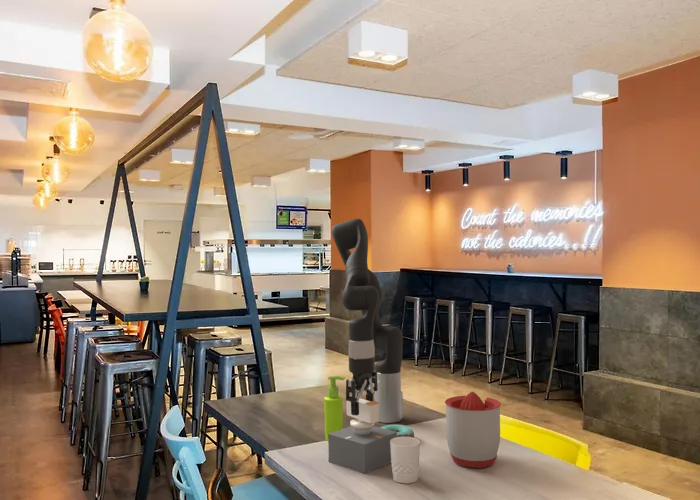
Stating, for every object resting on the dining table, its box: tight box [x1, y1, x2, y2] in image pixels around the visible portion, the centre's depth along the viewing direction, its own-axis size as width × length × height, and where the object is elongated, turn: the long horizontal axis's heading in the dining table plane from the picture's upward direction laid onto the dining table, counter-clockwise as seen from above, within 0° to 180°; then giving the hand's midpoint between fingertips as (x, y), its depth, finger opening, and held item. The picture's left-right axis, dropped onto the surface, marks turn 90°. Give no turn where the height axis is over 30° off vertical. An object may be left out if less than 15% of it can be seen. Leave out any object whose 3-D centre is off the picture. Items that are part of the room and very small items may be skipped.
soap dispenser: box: [323, 375, 346, 441], centre depth 189 cm, size 6×7×20 cm
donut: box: [380, 424, 415, 438], centre depth 186 cm, size 12×12×4 cm
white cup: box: [390, 437, 421, 484], centre depth 155 cm, size 8×8×10 cm
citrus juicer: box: [444, 391, 501, 469], centre depth 168 cm, size 16×17×20 cm
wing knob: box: [346, 397, 379, 429], centre depth 169 cm, size 11×7×7 cm, turn 38°
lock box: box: [327, 425, 397, 474], centre depth 169 cm, size 14×14×10 cm
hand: (362, 411), depth 169 cm, fingers open, 8 cm apart
